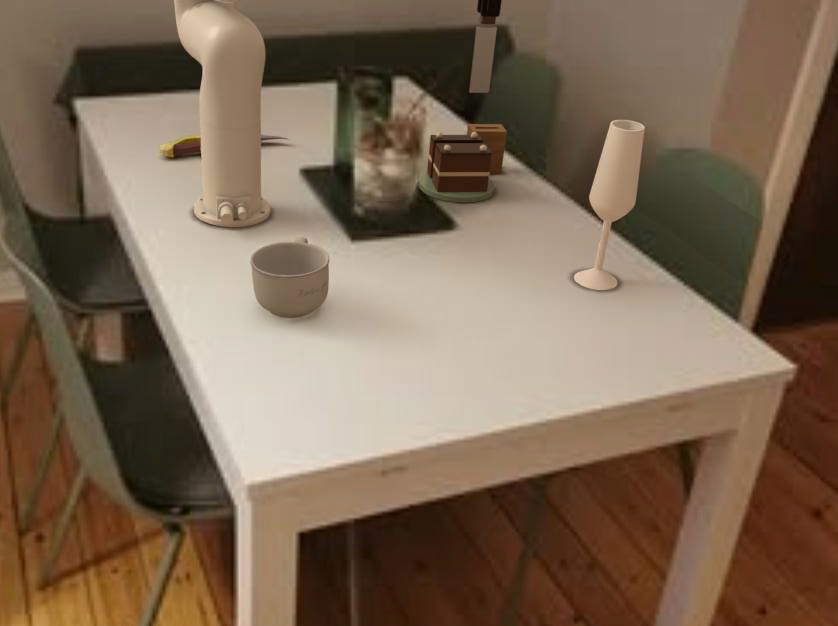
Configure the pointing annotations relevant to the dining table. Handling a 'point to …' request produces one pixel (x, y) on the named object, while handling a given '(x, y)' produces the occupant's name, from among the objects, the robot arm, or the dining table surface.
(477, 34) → the cake knife
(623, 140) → the champagne flute
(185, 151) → the knife
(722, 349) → the dining table surface
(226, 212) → the robot arm
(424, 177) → the cake plate
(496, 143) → the knife holder
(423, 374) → the dining table surface
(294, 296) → the teacup
